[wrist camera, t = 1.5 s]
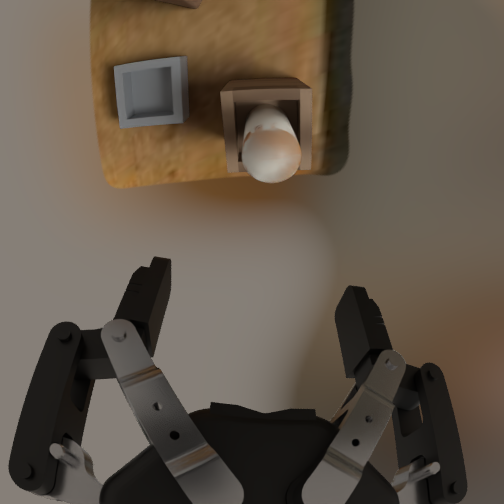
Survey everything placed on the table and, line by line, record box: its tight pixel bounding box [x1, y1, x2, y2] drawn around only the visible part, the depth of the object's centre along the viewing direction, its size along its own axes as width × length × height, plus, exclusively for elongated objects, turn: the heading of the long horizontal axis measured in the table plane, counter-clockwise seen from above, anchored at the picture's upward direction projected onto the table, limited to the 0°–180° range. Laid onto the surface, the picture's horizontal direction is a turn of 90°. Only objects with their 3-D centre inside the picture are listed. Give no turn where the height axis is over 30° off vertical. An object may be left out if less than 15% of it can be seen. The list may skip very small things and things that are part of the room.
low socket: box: [114, 56, 189, 129], centre depth 29 cm, size 8×8×4 cm
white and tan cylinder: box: [242, 104, 302, 183], centre depth 23 cm, size 4×4×9 cm
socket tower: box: [220, 78, 312, 173], centre depth 29 cm, size 8×8×10 cm
